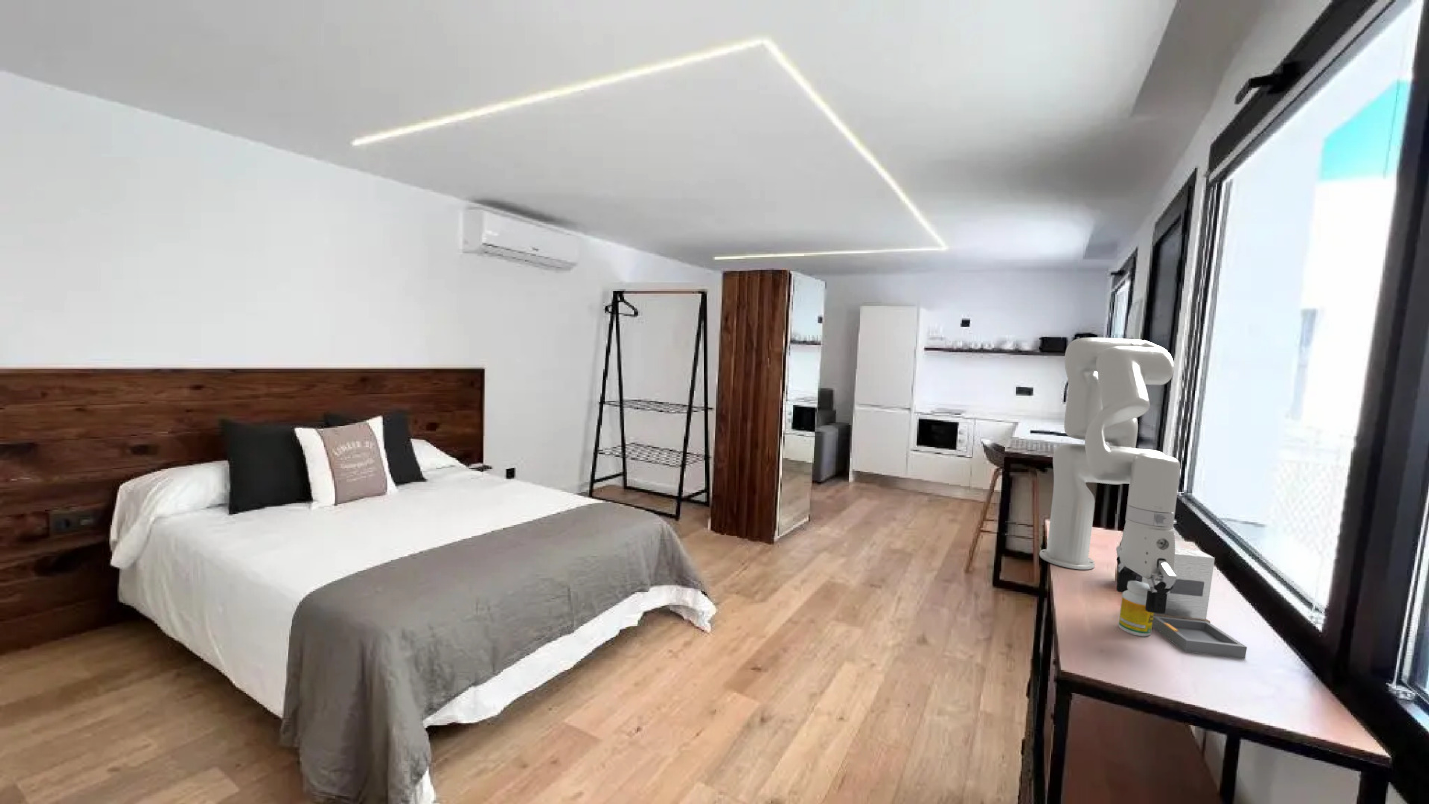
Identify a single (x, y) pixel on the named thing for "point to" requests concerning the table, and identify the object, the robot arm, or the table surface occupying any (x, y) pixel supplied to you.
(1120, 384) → the robot arm
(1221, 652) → the tray
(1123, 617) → the supplement bottle
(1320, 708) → the table surface
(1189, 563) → the box
